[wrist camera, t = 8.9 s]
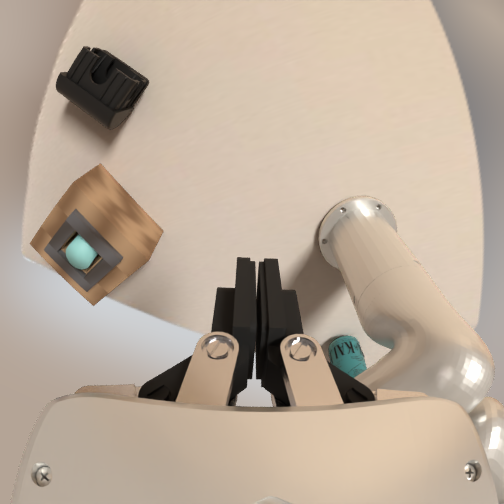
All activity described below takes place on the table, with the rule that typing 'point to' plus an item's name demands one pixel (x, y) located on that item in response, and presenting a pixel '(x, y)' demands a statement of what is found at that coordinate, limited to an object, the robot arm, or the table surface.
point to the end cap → (102, 86)
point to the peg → (80, 253)
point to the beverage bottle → (347, 355)
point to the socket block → (97, 234)
